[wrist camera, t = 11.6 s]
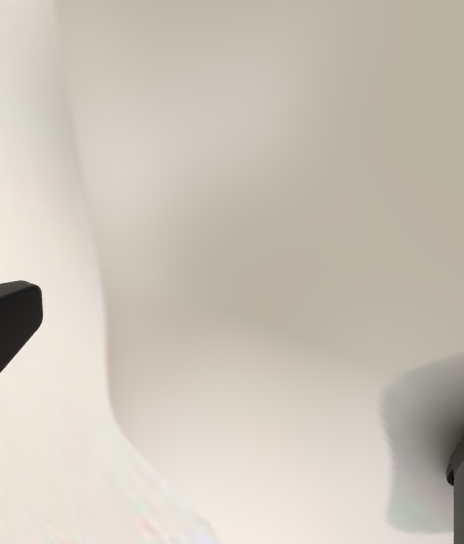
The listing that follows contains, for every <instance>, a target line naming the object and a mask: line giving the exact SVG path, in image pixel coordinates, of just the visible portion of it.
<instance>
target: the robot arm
mask: <svg viewBox="0 0 464 544" xmlns="http://www.w3.org/2000/svg"><path fill="white" fill-rule="evenodd" d="M42 320H43V307H42V292H41V289H40V287H39V286H37V285H35V284H32V283H29V282H27V281H22V280H20V281H14V282H8V283H2V284H0V373H1V371H2V370H3V369H4V368H5V367H6V366H7V364H8V363H9V362H10V361H11V360H12V359H13V357H14V356H15V355H16V354H17V353H18V352H19V350H20V349H21V348H22V347H23V346H24V345H25V343H26V342H27V341H28V340H29V339H30V338H31V336H32V335H33V334H34V333H35V332H36V331H37V329H38V328H39V327H40V325H41V323H42ZM451 462H452V463H451V464H450V466H449V467H448V469H447V471H446V477H447V481H448V483H449V484H451V485H453V486H454V544H464V437H463V439H462V440H461V442H460V444H459V445H458V447H457V448H456V450H455V451H454V453H453V455H452V456H451Z"/></svg>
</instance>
